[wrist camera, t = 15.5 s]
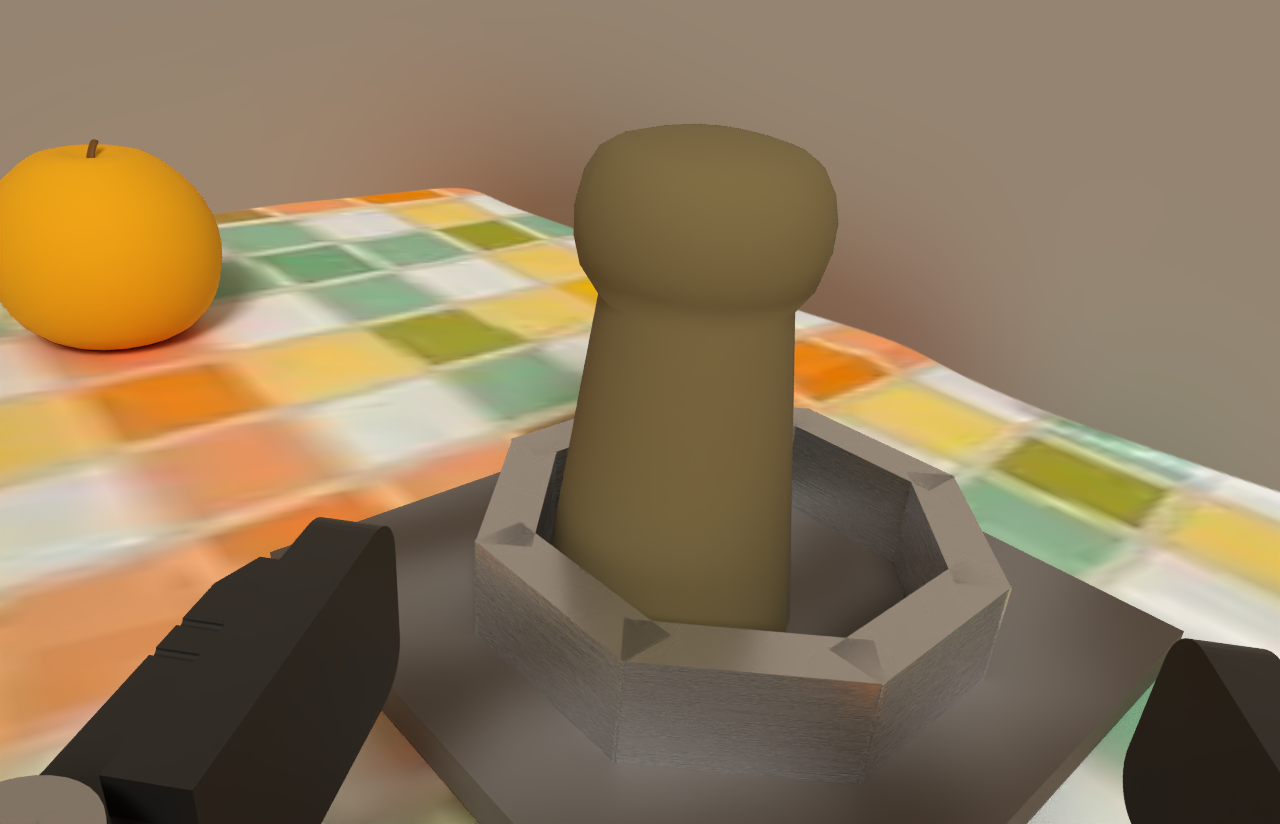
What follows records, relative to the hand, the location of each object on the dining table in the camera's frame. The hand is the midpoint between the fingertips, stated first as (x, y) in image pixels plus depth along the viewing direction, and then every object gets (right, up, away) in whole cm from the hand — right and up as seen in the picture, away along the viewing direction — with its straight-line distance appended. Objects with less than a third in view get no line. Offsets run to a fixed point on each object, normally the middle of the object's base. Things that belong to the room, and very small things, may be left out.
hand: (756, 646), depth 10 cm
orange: (-22, +5, +27) cm, 35 cm away
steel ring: (+1, -2, +13) cm, 13 cm away
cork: (-1, -2, +13) cm, 13 cm away
